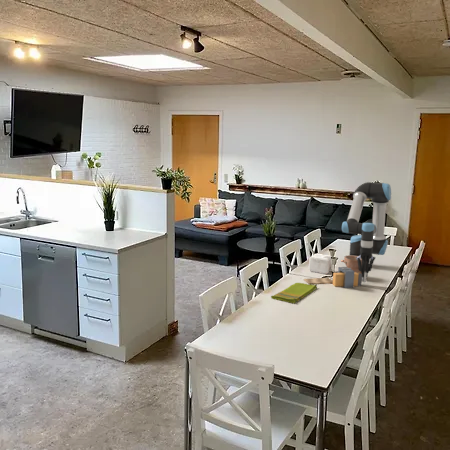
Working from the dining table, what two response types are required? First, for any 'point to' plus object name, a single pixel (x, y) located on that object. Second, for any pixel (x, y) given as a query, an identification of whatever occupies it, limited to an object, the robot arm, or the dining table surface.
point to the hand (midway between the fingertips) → (363, 281)
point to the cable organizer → (320, 263)
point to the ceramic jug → (352, 262)
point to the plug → (339, 279)
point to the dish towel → (294, 292)
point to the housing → (347, 276)
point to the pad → (319, 281)
